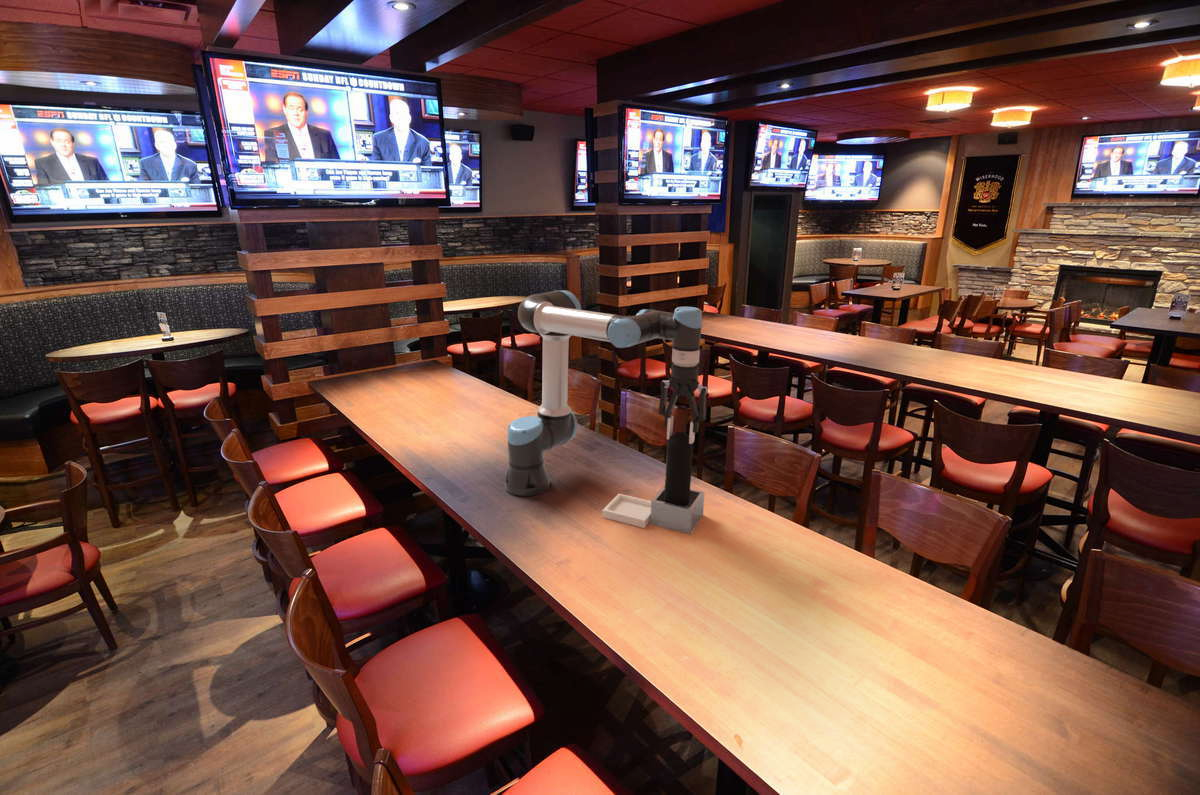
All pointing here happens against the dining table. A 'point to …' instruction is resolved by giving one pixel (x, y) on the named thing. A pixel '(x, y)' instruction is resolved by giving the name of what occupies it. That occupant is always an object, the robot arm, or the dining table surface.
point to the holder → (677, 512)
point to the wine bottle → (678, 463)
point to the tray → (628, 510)
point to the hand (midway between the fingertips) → (680, 439)
